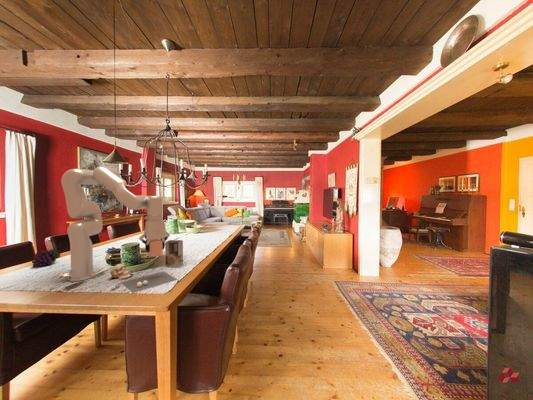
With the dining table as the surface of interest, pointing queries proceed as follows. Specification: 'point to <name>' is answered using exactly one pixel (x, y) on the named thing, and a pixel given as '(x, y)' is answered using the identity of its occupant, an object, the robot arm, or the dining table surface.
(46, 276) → the dining table surface
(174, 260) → the coffee box
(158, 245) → the cup
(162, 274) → the mat
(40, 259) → the fruit
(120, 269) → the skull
